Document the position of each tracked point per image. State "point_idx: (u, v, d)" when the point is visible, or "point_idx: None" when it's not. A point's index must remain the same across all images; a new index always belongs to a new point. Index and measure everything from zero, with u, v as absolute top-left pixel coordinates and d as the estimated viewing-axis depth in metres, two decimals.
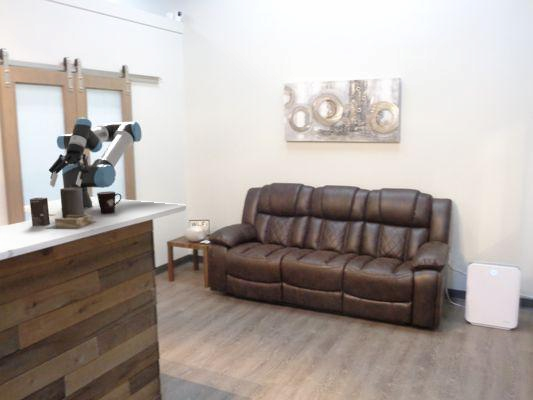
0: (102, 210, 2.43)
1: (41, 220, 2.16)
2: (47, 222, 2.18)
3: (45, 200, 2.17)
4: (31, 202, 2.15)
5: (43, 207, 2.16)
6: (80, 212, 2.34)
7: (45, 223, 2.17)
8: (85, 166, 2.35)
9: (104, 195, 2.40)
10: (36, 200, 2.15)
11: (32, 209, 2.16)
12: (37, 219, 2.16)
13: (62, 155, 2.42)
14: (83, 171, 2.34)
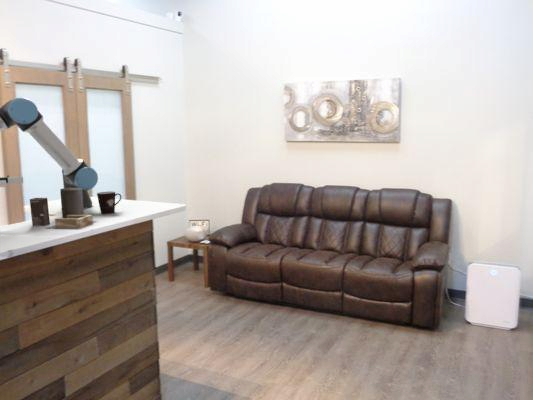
0: (102, 210, 2.43)
1: (41, 220, 2.16)
2: (47, 222, 2.18)
3: (45, 200, 2.17)
4: (31, 202, 2.15)
5: (43, 207, 2.16)
6: (80, 212, 2.34)
7: (45, 223, 2.17)
8: None
9: (104, 195, 2.40)
10: (36, 200, 2.15)
11: (32, 209, 2.16)
12: (37, 219, 2.16)
13: None
14: None
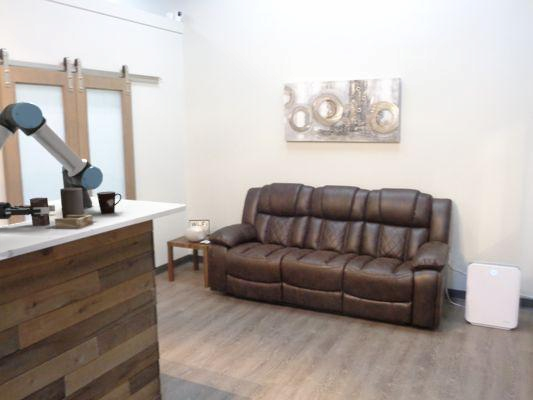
0: (102, 210, 2.43)
1: (42, 219, 2.16)
2: (47, 222, 2.18)
3: (45, 200, 2.17)
4: (31, 202, 2.16)
5: None
6: (80, 212, 2.34)
7: (45, 223, 2.17)
8: (24, 214, 2.13)
9: (104, 195, 2.40)
10: (36, 200, 2.15)
11: None
12: (37, 219, 2.16)
13: None
14: (31, 213, 2.14)
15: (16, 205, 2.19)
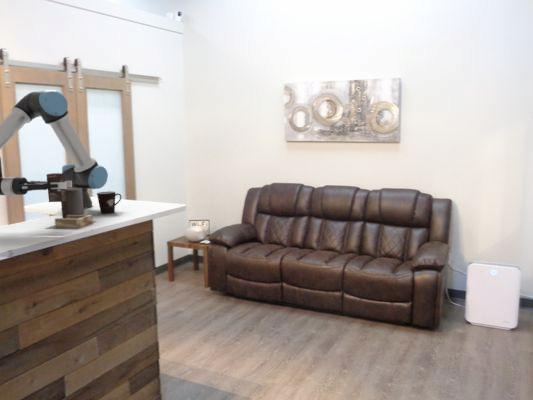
0: (102, 210, 2.43)
1: (59, 195, 2.11)
2: (64, 198, 2.13)
3: (62, 175, 2.12)
4: (48, 177, 2.11)
5: None
6: (80, 212, 2.34)
7: (62, 199, 2.12)
8: (41, 189, 2.08)
9: (104, 195, 2.40)
10: (53, 175, 2.10)
11: None
12: (54, 195, 2.11)
13: None
14: (48, 188, 2.09)
15: None
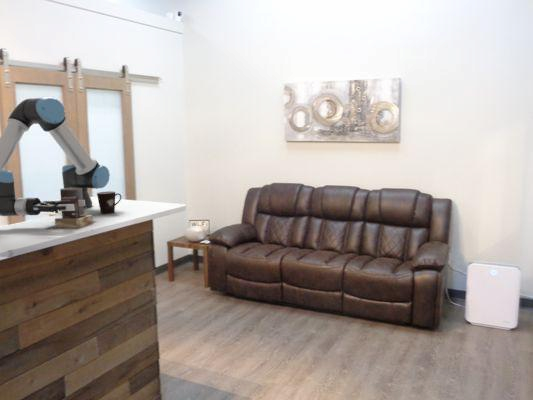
0: (102, 210, 2.43)
1: None
2: None
3: (76, 199, 2.14)
4: (62, 201, 2.12)
5: (75, 206, 2.12)
6: (80, 212, 2.34)
7: None
8: (49, 211, 2.07)
9: (104, 195, 2.40)
10: (67, 199, 2.11)
11: None
12: None
13: None
14: (56, 210, 2.08)
15: (46, 201, 2.16)
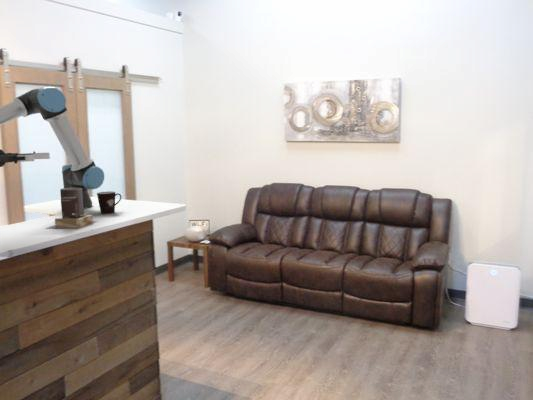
0: (102, 210, 2.43)
1: None
2: None
3: (76, 199, 2.14)
4: (62, 201, 2.12)
5: (75, 206, 2.13)
6: (80, 212, 2.34)
7: None
8: (9, 161, 2.04)
9: (104, 195, 2.40)
10: (67, 199, 2.11)
11: (64, 208, 2.12)
12: None
13: None
14: (15, 160, 2.04)
15: None
